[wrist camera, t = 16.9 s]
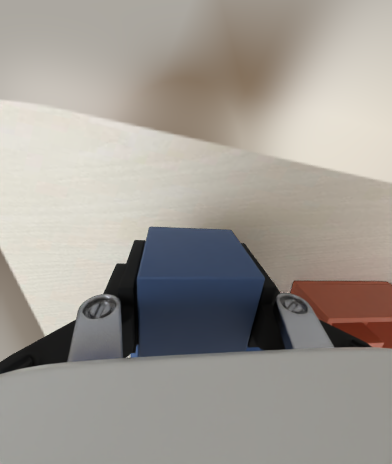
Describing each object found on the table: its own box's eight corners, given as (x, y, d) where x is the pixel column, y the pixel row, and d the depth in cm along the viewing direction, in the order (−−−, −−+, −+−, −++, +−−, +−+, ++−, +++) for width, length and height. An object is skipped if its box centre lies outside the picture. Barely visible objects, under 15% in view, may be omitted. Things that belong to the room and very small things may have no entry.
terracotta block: (318, 312, 25) (347, 344, 21) (350, 311, 25) (385, 342, 21) (307, 339, 26) (332, 373, 22) (338, 338, 27) (368, 371, 23)
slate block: (149, 226, 10) (136, 277, 6) (231, 229, 11) (266, 277, 7) (149, 294, 12) (138, 368, 8) (220, 293, 13) (243, 362, 9)
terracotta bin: (293, 280, 23) (329, 318, 18) (386, 281, 25) (443, 315, 20) (270, 356, 28) (293, 404, 22) (350, 353, 29) (389, 396, 24)
